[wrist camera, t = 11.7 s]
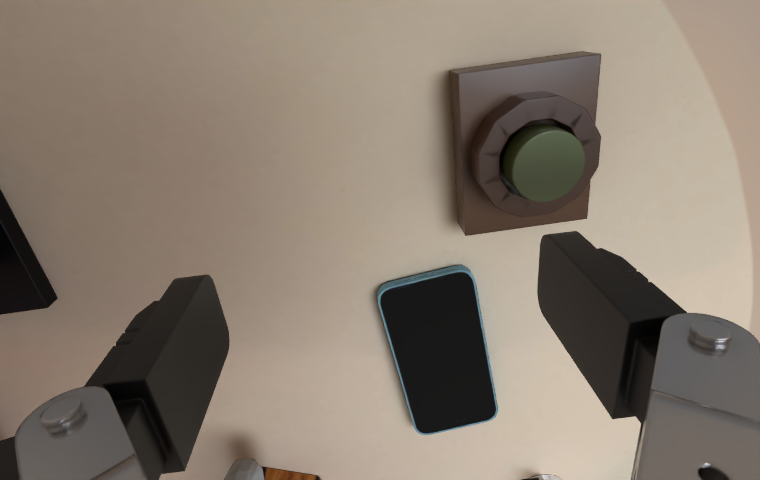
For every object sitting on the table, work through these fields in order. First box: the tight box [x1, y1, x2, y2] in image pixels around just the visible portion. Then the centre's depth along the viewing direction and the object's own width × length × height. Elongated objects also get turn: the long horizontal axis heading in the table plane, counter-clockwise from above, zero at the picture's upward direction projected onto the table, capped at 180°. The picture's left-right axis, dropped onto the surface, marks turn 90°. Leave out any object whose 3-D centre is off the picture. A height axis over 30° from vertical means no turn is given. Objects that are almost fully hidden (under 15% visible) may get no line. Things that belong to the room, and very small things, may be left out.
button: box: [503, 124, 585, 202], centre depth 25 cm, size 4×4×2 cm
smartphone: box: [377, 265, 498, 435], centre depth 35 cm, size 7×1×15 cm
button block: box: [450, 51, 601, 236], centre depth 27 cm, size 10×8×4 cm
